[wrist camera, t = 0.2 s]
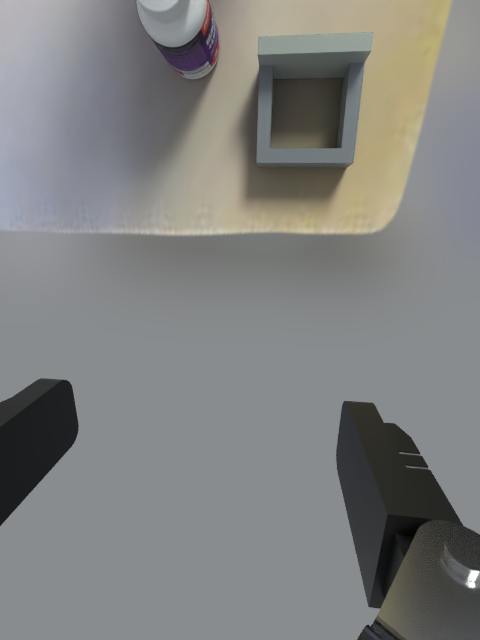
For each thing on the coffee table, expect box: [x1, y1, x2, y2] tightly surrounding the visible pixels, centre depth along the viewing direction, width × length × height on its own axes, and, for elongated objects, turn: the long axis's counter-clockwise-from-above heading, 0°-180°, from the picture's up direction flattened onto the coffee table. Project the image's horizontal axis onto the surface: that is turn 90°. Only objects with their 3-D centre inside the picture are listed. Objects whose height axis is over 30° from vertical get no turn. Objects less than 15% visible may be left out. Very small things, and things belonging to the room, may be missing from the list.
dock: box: [256, 32, 373, 168], centre depth 29 cm, size 9×9×5 cm
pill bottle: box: [136, 0, 220, 79], centre depth 26 cm, size 5×5×10 cm
